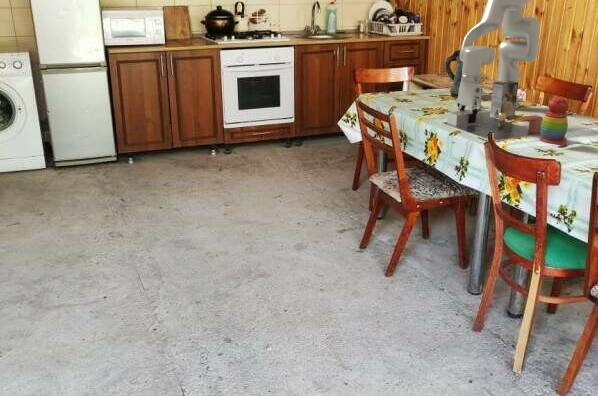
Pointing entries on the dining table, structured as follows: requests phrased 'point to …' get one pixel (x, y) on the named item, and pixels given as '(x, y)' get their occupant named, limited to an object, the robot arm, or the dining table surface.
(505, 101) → the coffee box
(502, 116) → the pintle
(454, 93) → the beer stein
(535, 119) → the keeper
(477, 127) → the base plate
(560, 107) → the stacking bear
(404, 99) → the dining table surface
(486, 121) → the link
